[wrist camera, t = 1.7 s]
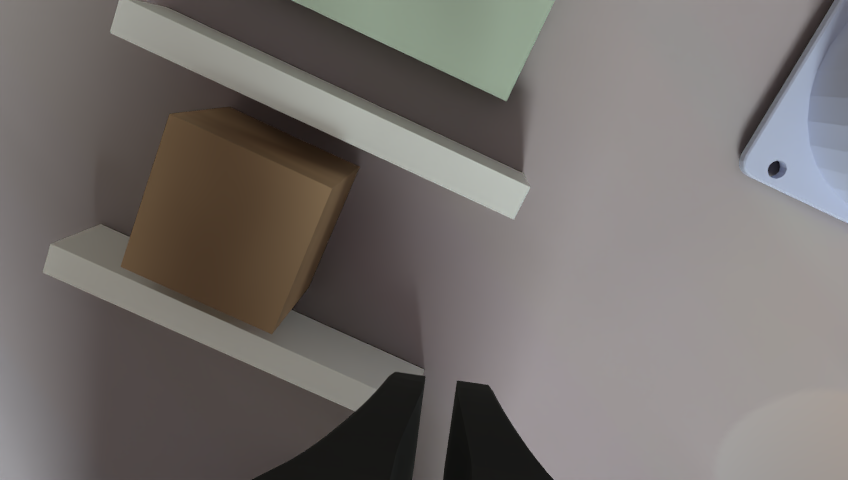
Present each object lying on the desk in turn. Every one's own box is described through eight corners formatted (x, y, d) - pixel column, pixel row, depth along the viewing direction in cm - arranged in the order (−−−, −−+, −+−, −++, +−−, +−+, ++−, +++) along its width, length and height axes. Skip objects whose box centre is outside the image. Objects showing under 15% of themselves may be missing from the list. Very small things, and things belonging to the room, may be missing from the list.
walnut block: (360, 166, 19) (332, 188, 15) (309, 286, 20) (272, 334, 17) (230, 106, 19) (169, 113, 15) (187, 230, 20) (120, 267, 16)
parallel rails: (523, 173, 19) (530, 187, 16) (412, 392, 21) (404, 433, 19) (166, 7, 18) (120, -4, 16) (93, 249, 21) (42, 272, 18)
